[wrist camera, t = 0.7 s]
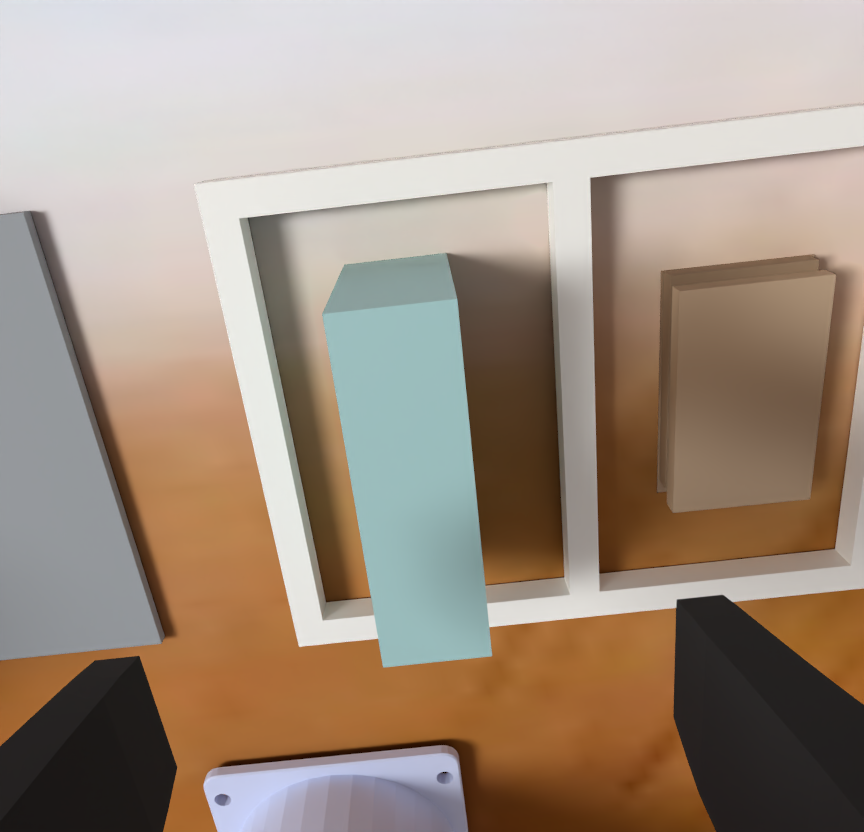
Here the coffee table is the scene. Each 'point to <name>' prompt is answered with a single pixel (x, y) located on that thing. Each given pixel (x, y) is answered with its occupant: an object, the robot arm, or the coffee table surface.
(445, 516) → the pale teal block
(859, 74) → the coffee table surface
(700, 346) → the offcut stack
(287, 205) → the rack
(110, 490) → the mat
